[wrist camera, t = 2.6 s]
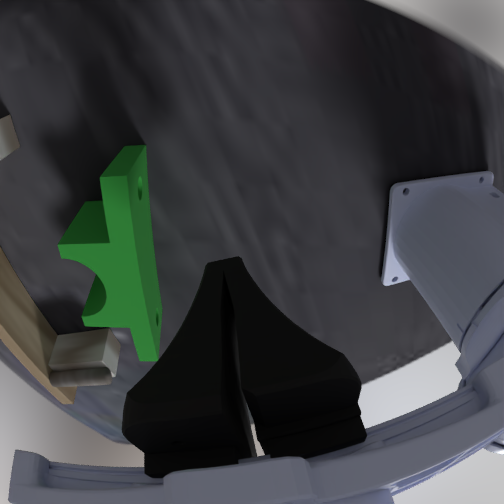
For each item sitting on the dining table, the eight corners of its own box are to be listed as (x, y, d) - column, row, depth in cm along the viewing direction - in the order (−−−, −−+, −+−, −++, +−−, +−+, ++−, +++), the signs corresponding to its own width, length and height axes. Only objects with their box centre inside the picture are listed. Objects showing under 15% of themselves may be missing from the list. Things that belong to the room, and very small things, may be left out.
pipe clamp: (79, 148, 14) (42, 181, 10) (146, 143, 15) (127, 174, 11) (111, 308, 20) (98, 361, 17) (162, 309, 21) (158, 363, 17)
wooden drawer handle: (1, 82, 11) (-46, 97, 7) (131, 360, 23) (126, 404, 20) (-61, 127, 10) (-103, 152, 7) (71, 366, 23) (62, 405, 20)
